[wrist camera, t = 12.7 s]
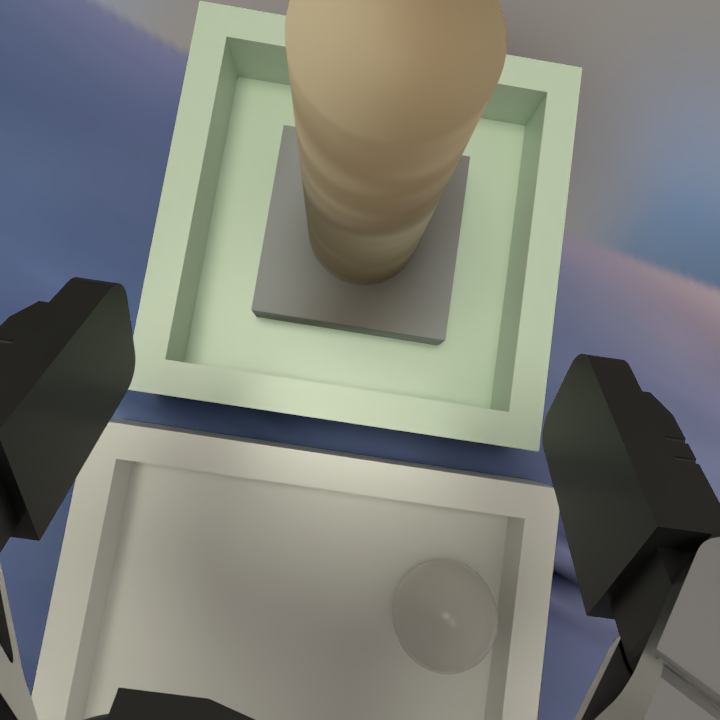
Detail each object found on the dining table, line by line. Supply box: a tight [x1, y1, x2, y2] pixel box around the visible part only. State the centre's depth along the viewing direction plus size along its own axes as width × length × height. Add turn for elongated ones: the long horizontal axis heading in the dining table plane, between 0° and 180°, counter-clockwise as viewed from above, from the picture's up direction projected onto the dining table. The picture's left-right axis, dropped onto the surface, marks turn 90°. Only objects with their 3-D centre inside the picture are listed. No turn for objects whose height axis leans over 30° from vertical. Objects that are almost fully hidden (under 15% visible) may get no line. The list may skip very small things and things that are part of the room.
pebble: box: [392, 559, 498, 674], centre depth 16 cm, size 3×3×3 cm
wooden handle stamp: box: [251, 0, 507, 345], centre depth 14 cm, size 6×6×10 cm
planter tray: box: [128, 1, 582, 452], centre depth 18 cm, size 12×12×3 cm
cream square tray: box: [31, 419, 559, 720], centre depth 17 cm, size 14×14×2 cm
